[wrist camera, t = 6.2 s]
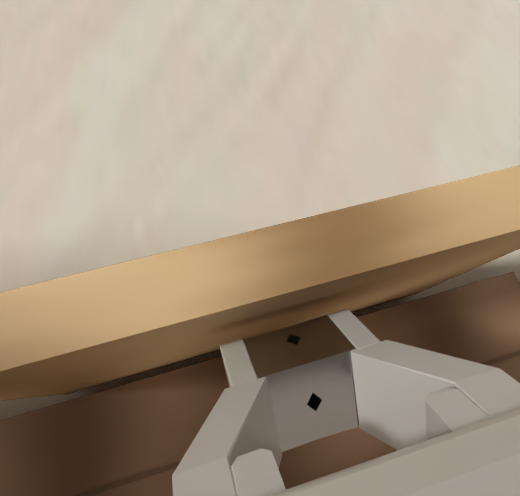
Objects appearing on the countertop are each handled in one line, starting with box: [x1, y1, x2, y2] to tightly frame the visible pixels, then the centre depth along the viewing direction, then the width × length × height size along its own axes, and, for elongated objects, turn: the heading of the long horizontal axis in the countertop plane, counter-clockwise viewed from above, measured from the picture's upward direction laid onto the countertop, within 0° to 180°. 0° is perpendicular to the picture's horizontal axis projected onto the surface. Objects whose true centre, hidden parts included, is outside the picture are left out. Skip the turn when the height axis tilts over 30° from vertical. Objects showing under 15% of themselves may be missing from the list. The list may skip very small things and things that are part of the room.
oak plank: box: [0, 166, 520, 401], centre depth 12 cm, size 14×10×1 cm
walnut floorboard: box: [0, 272, 520, 496], centre depth 15 cm, size 25×6×1 cm, turn 107°
